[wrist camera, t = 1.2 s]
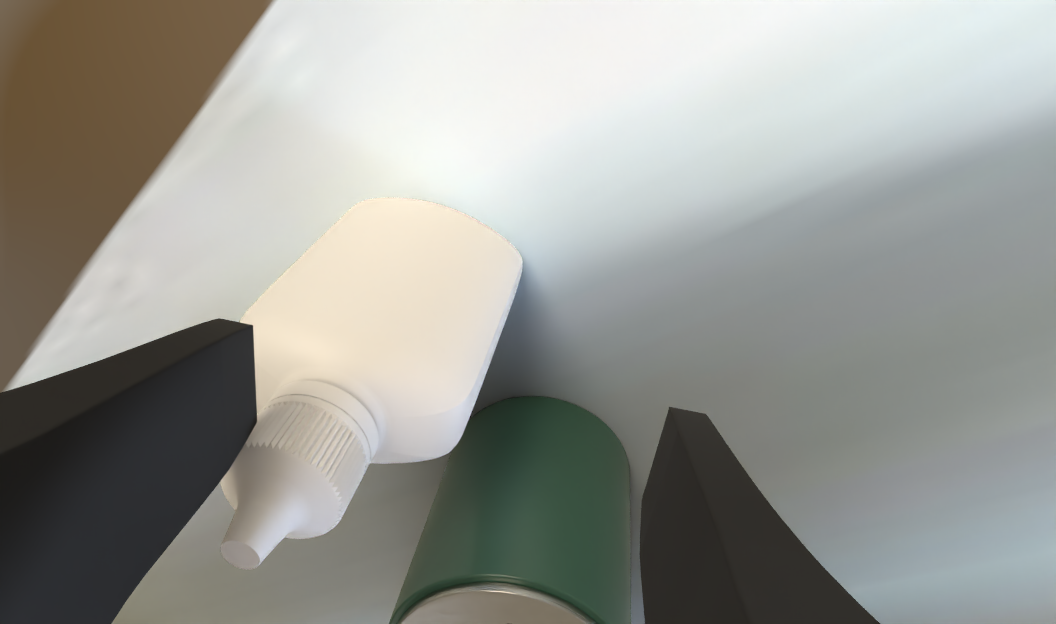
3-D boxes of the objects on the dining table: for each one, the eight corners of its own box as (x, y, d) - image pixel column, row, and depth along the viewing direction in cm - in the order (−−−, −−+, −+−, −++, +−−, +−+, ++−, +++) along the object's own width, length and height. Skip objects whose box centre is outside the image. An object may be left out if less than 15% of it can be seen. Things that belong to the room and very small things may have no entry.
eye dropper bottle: (456, 345, 23) (300, 683, 13) (329, 231, 22) (42, 511, 12) (546, 272, 21) (447, 601, 11) (414, 141, 20) (157, 381, 10)
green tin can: (610, 552, 26) (604, 776, 19) (445, 519, 27) (376, 726, 19) (647, 415, 23) (657, 616, 16) (460, 379, 24) (386, 561, 16)
